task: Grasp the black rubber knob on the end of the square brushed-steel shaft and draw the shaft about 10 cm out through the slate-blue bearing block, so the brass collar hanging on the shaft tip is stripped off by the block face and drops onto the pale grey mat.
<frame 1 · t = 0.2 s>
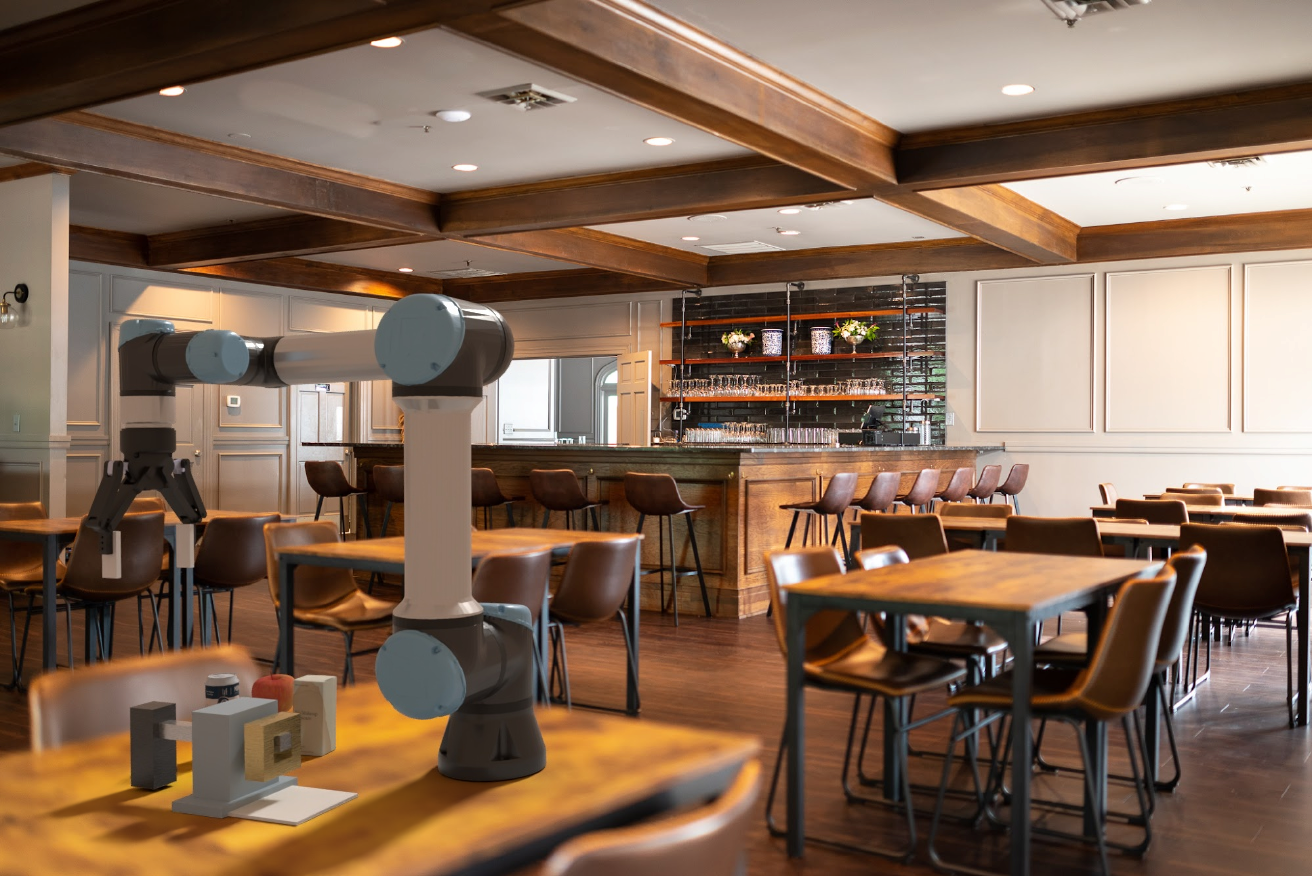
hand: (149, 572, 169), 27 cm above the table, fingers open, 13 cm apart
apple: (274, 717, 195), on the table
collar: (273, 746, 148), point 7 cm above the table, touching shaft
shaft: (212, 751, 152), point 6 cm above the table, slide at 0.0 cm, touching collar
beer can: (223, 758, 170), on the table
bearing block: (236, 798, 150), on the table
box: (315, 753, 173), on the table
mat: (293, 805, 147), on the table
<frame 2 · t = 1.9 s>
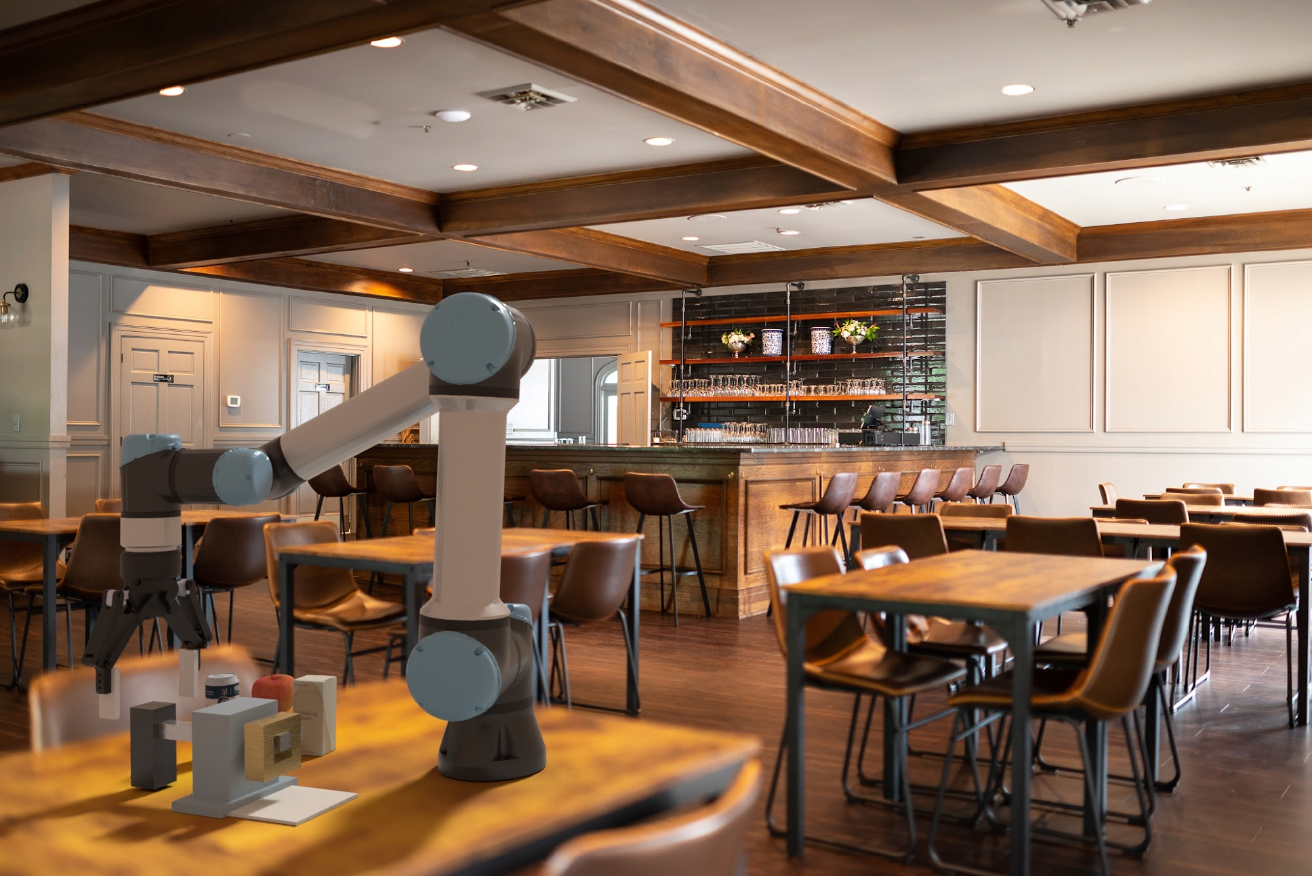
hand: (150, 707, 156), 11 cm above the table, fingers open, 13 cm apart
nothing on the table moved.
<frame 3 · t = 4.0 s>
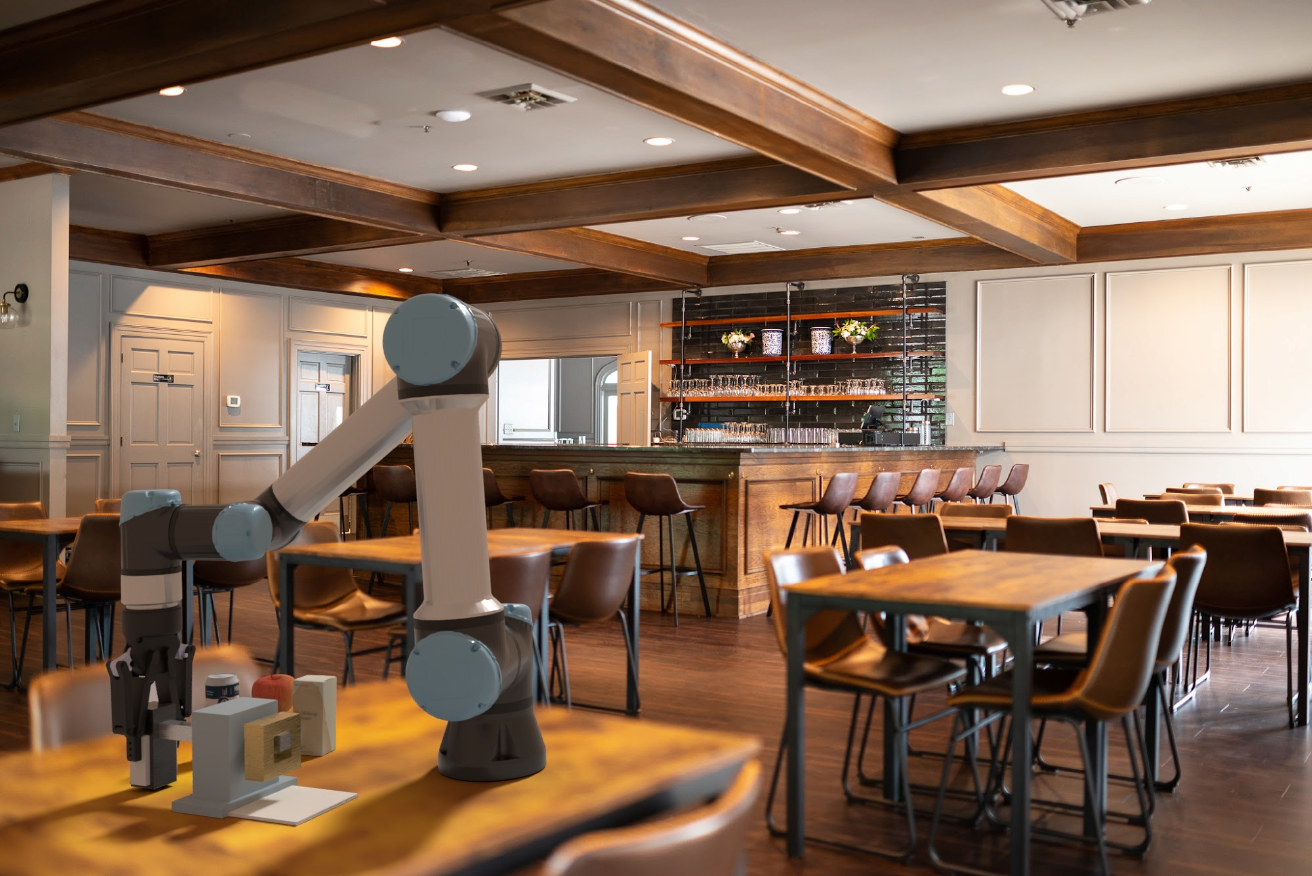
hand: (154, 779, 156), 1 cm above the table, fingers closed on shaft, 4 cm apart
shaft: (212, 751, 152), point 6 cm above the table, slide at 0.0 cm, touching collar, gripper
everything else where it was.
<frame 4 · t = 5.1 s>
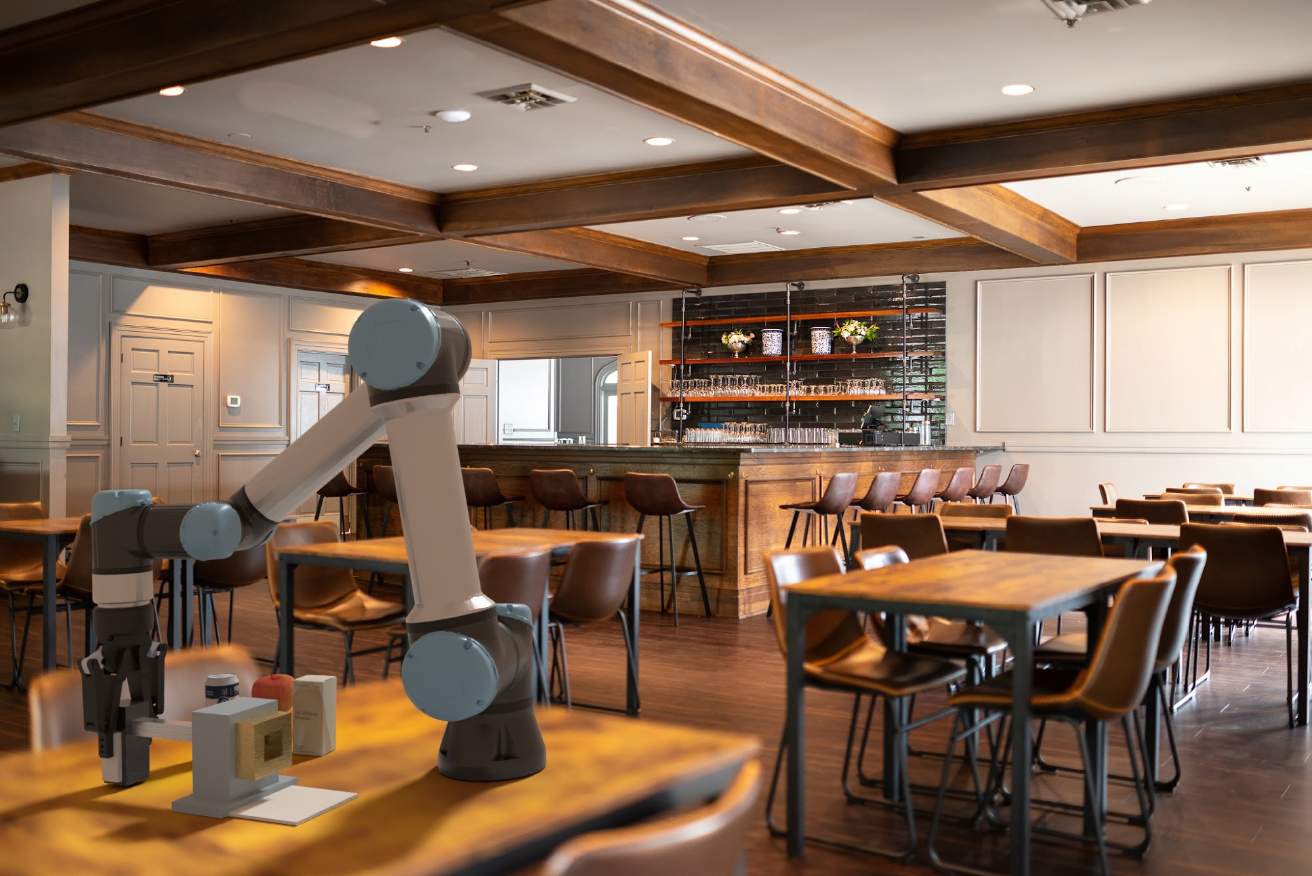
hand: (126, 775, 157), 1 cm above the table, fingers closed on shaft, 4 cm apart
collar: (264, 744, 149), point 7 cm above the table
shaft: (183, 748, 154), point 6 cm above the table, slide at 4.8 cm, touching gripper
everything else where it was.
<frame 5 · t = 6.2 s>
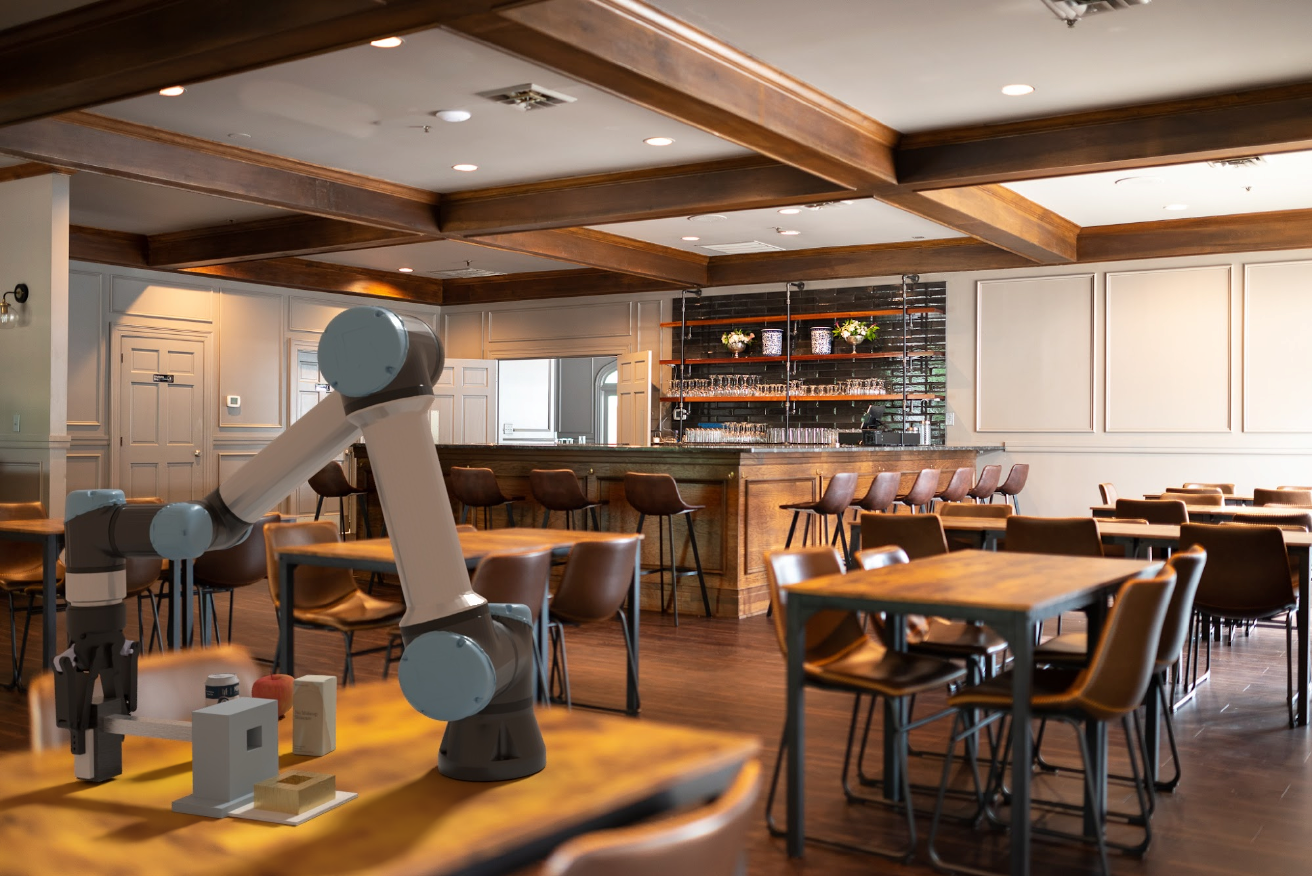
hand: (98, 772, 159), 1 cm above the table, fingers closed on shaft, 4 cm apart
collar: (295, 791, 147), point 2 cm above the table, tilted 90°, touching mat
shaft: (154, 744, 156), point 6 cm above the table, slide at 9.8 cm, touching gripper
everything else where it was.
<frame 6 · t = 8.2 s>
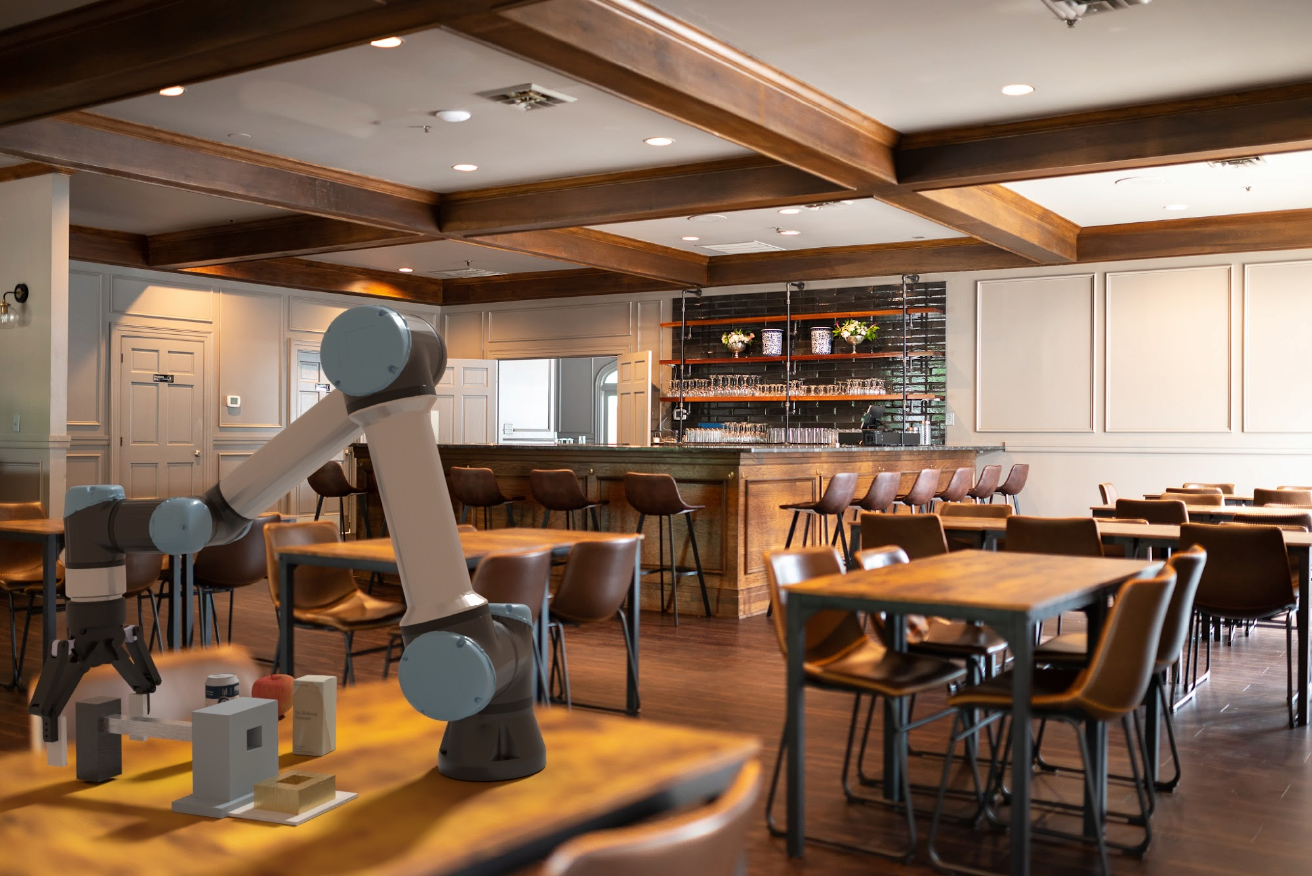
hand: (99, 752, 159), 4 cm above the table, fingers open, 13 cm apart
shaft: (154, 744, 156), point 6 cm above the table, slide at 9.8 cm
everything else where it was.
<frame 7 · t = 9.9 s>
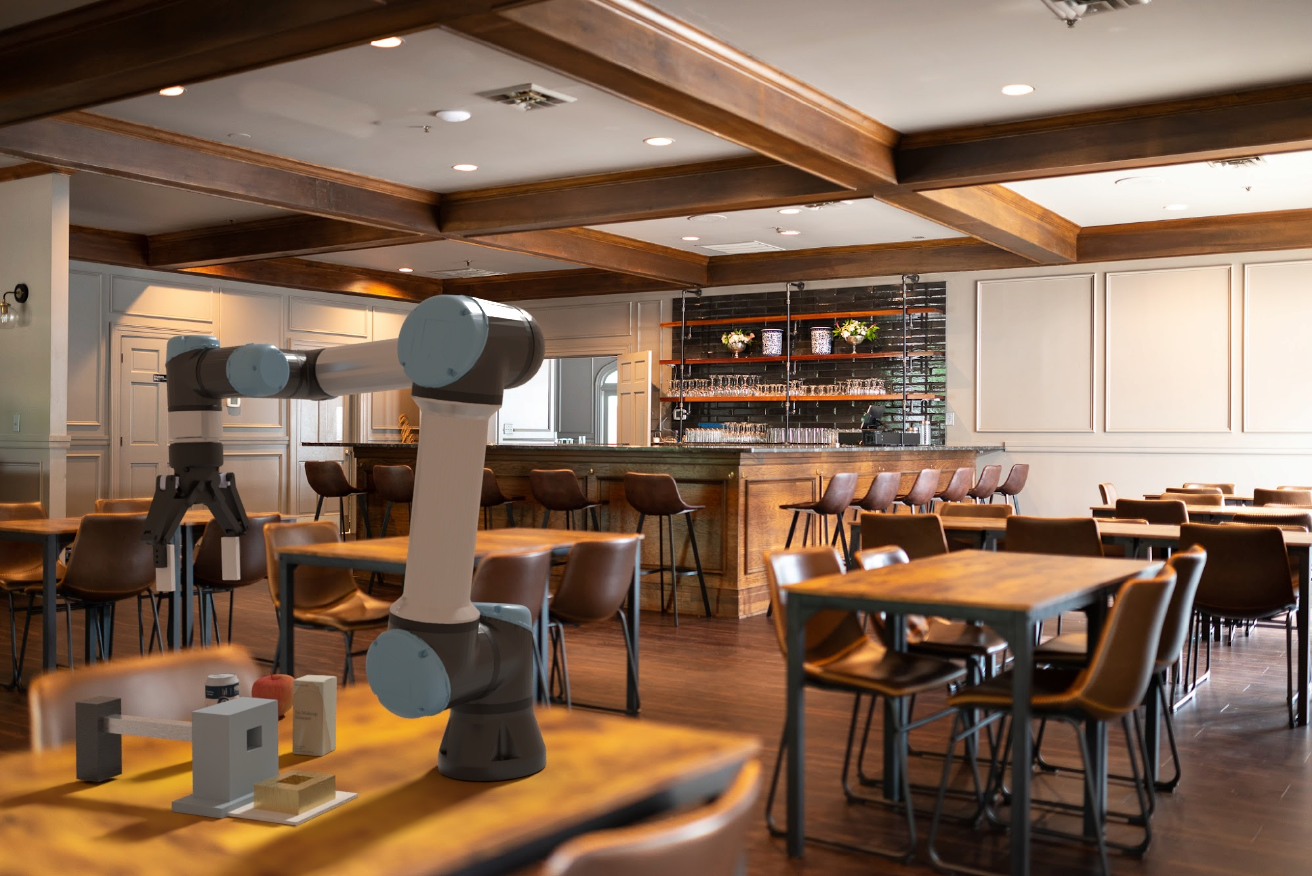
hand: (199, 585, 171), 25 cm above the table, fingers open, 13 cm apart
nothing on the table moved.
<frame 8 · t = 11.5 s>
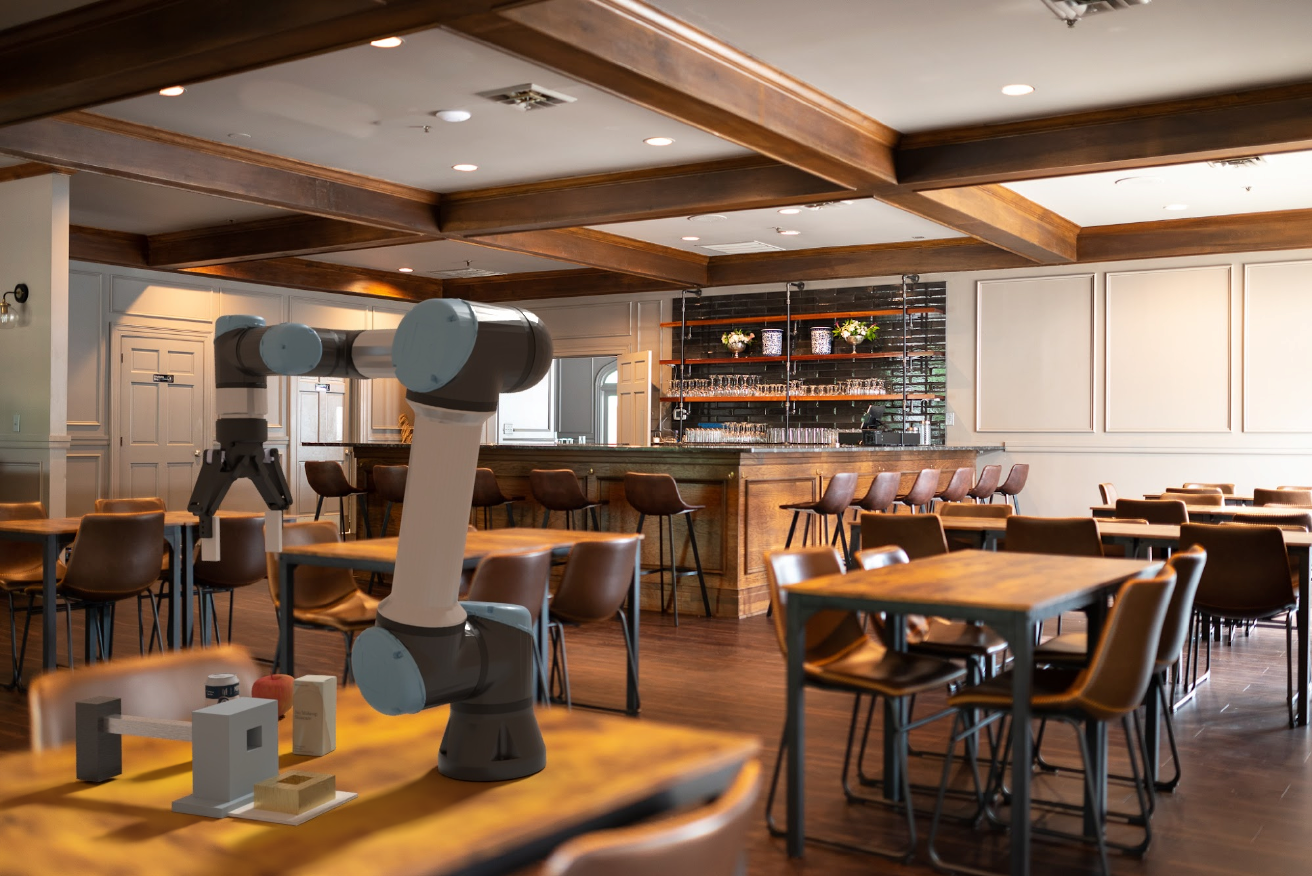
hand: (243, 556, 178), 29 cm above the table, fingers open, 13 cm apart
nothing on the table moved.
at the end: shaft slide at 9.8 cm; collar touching mat; collar point 1.9 cm above the table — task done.
